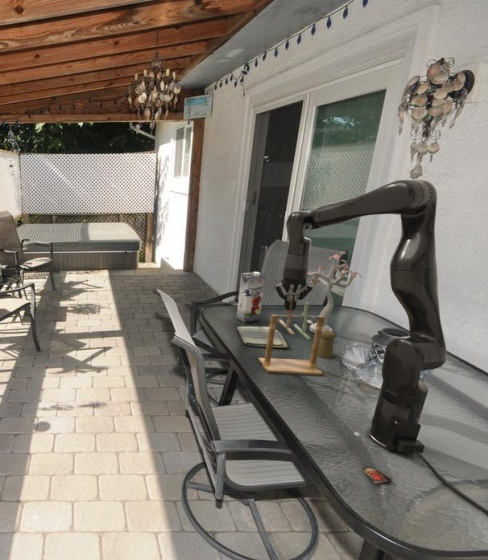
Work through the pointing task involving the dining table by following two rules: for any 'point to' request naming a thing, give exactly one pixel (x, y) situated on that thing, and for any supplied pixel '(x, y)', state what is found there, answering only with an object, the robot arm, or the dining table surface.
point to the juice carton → (250, 296)
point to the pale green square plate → (260, 337)
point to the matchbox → (377, 475)
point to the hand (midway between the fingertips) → (289, 309)
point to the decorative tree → (331, 281)
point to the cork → (326, 344)
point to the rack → (292, 364)
